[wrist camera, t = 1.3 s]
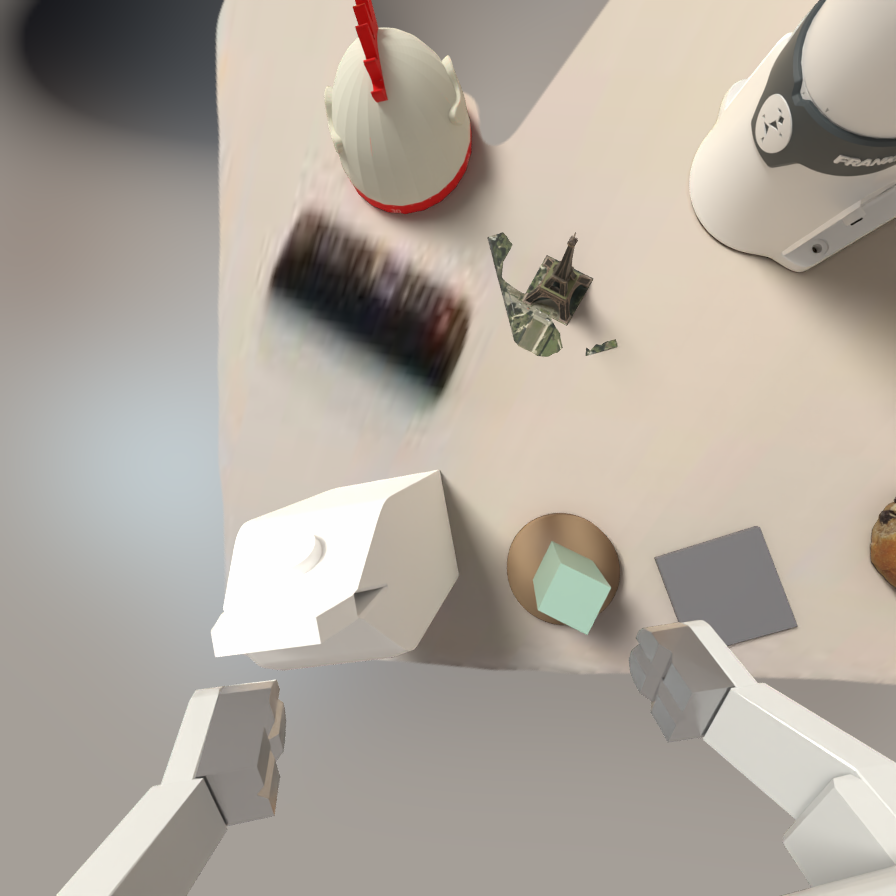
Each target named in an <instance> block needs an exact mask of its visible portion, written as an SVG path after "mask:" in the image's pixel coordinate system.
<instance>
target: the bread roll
mask: <svg viewBox="0 0 896 896" xmlns="http://www.w3.org/2000/svg"><path fill="white" fill-rule="evenodd" d="M894 501H895V502H893V503H890V504H888V505H887V506H886V507H885V509H884V510H883V511H882V512H881V513H880V514H879V519H878V520H877V522H876V523H875V525H874V527H873V529H872V543H871V544H870V545H871V547H870V549H871V561H872V563H873V564H874V565H875V567H876V569H877V571H878V572H880V573H881V574H882V575H883V576H884V577H885V579H886V580H887V581H888V582H889V583H890V584H891V585H893V586H894V587H895V588H896V499H895V500H894Z"/></svg>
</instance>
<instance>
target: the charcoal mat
mask: <svg viewBox="0 0 896 896" xmlns="http://www.w3.org/2000/svg"><path fill="white" fill-rule="evenodd" d="M655 561H656V564H657V566H658V569H659V572H660V574H661V577H662V580H663V582H664V585H665V588H666V590H667V593H668V596H669V598H670V601H671V604H672V606H673V609H674V612H675V614H676V617H677V620H678V622H680V623H681V622H688V621H694V620H703V621H705V622H706V623H708V624H709V625H710V626H711V627H712V628H713V630H714V631H715V632H716V633H717V634H718V636H719V637H720V638H721V639H722V640H723V642H724V643H725V644H726V645H727V646H728V645H731V644H735V643H739V642H742V641H746V640H750V639H753V638H757V637H760V636H764V635H768V634H771V633H775V632H778V631H782V630H786V629H789V628H793V627H797V623H796V621H795V618H794V615H793V613H792V610H791V608H790V605H789V602H788V600H787V597H786V595H785V592H784V589H783V587H782V584H781V581H780V579H779V576H778V574H777V571H776V568H775V566H774V563H773V561H772V558H771V555H770V553H769V550H768V547H767V545H766V542H765V540H764V537H763V534H762V532H761V529H760V527H758V526H754V527H751V528H748V529H745V530H742V531H738V532H735V533H732V534H729V535H725V536H722V537H719V538H716V539H713V540H709V541H706V542H703V543H700V544H696V545H693V546H690V547H687V548H684V549H680V550H677V551H674V552H671V553H667V554H664V555H661V556H658V557H655Z"/></svg>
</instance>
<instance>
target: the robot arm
mask: <svg viewBox="0 0 896 896" xmlns="http://www.w3.org/2000/svg"><path fill="white" fill-rule="evenodd" d="M689 188H690V196H691V201H692V205H693V208H694V210H695V213H696V215H697V217H698V219H699V220H700V222H701V223H702V225H703V226H704V227H705V229H706V230H707V231H708V232H709V233H710V234H711V235H712V236H713V237H715V238H716V239H717V240H719V241H720V242H722V243H723V244H725V245H727V246H729V247H731V248H733V249H736V250H738V251H742V252H745V253H750V254H756V255H762V256H766V257H769V258H772V259H773V260H775V261H776V262H778V263H779V264H781V265H783V266H784V267H786V268H788V269H790V270H792V271H795V272H803V271H806V270H808V269H810V268H812V267H813V266H815V265H817V264H818V263H820V262H822V261H823V260H825V259H827V258H828V257H830V256H832V255H833V254H835V253H837V252H838V251H840V250H842V249H843V248H845V247H847V246H848V245H850V244H852V243H853V242H855V241H857V240H858V239H860V238H862V237H863V236H865V235H867V234H869V233H870V232H872V231H874V230H875V229H877V228H879V227H880V226H882V225H884V224H885V223H887V222H889V221H890V220H892V219H894V218H895V217H896V0H819V1H818V3H817V4H816V5H815V6H814V7H813V9H812V10H811V11H810V12H809V13H808V14H807V15H806V16H805V18H803V19H802V21H801V22H800V24H799V25H798V26H797V27H796V29H795V30H794V31H793V33H791V32H790V33H788V34H786V35H785V36H784V37H782V38H781V39H780V40H779V41H778V43H777V44H776V45H775V46H774V48H773V49H772V50H771V51H770V52H769V54H768V55H767V56H766V57H765V59H764V60H763V61H762V62H761V64H760V65H759V66H758V67H757V69H756V70H755V71H754V72H753V74H752V75H751V76H750V78H748V79H744V80H740V81H738V82H736V83H735V84H733V85H732V87H731V88H730V89H729V90H728V92H727V93H726V94H725V96H724V98H723V101H722V104H721V107H720V111H719V115H718V120H717V122H716V123H715V125H714V127H713V128H712V130H711V131H710V132H709V134H708V135H707V136H706V138H705V139H704V140H703V142H702V143H701V145H700V147H699V149H698V151H697V153H696V155H695V158H694V160H693V163H692V167H691V172H690V181H689ZM812 247H814V248H816V250H817V253H814V252H813V251H812ZM636 639H637V641H638V642H639V645H637V646H636V647H635V648H634V649H633V650H632V651H631V654H630V658H629V666H630V673H631V676H632V678H633V681H634V683H635V685H636V687H637V689H638V691H639V692H640V693H641V694H642V695H643V696H645V697H646V698H647V699H649V700H650V701H651V714H652V715H653V717H654V719H655V720H656V722H657V724H658V726H659V727H660V729H661V731H662V733H663V735H664V736H665V738H666V740H667V741H668V742H674V741H681V740H687V739H693V738H700V737H704V738H703V740H704V741H705V742H706V743H708V744H709V745H710V746H711V747H712V748H713V749H715V750H716V751H717V752H718V753H719V754H720V755H721V756H723V757H724V758H725V759H726V760H727V761H728V762H730V763H731V764H732V765H733V766H734V767H735V768H736V769H738V770H739V771H740V772H741V773H742V774H743V775H745V776H746V777H747V778H748V779H749V780H751V782H753V783H754V784H755V785H756V786H757V787H759V788H760V789H761V790H762V791H763V792H764V793H766V794H767V795H768V796H769V797H770V798H771V799H773V801H775V802H776V803H777V804H778V805H779V806H780V807H782V808H783V809H784V810H785V811H786V812H787V813H788V814H790V815H791V816H792V817H793V818H794V819H796V821H795V822H794V823H793V824H792V825H791V827H790V828H789V829H788V830H787V831H786V832H785V833H784V835H783V844H784V845H785V847H786V849H787V850H788V852H789V853H790V855H791V857H792V858H793V860H794V861H795V863H796V864H797V866H798V867H799V869H800V870H801V872H802V873H803V875H804V877H805V878H806V880H807V881H808V883H809V884H810V886H811V888H808V889H804V890H801V891H797V892H793V893H789V894H785V895H781V896H896V763H895V762H893V761H892V760H890V759H888V758H887V757H885V756H884V755H882V754H880V753H878V752H877V751H875V750H873V749H872V748H870V747H869V746H867V745H865V744H864V743H862V742H860V741H859V740H857V739H856V738H854V737H852V736H851V735H849V734H847V733H846V732H844V731H842V730H841V729H839V728H837V727H836V726H834V725H833V724H831V723H829V722H828V721H826V720H824V719H823V718H821V717H819V716H817V715H816V714H815V713H813V712H811V711H810V710H808V709H806V708H805V707H803V706H801V705H800V704H798V703H796V702H795V701H793V700H792V699H790V698H788V697H787V696H785V695H783V694H781V693H780V692H778V691H777V690H775V689H773V688H772V687H770V686H769V685H767V684H765V683H757V682H756V680H755V679H754V678H753V677H752V676H751V674H750V673H749V672H748V671H747V670H746V668H745V667H744V666H743V665H742V663H741V662H740V661H739V660H738V659H737V657H736V656H735V655H734V654H733V653H732V651H731V650H730V649H729V648H728V647H727V645H726V644H725V643H724V642H723V640H722V639H721V638H720V637H719V636H718V634H717V633H716V632H715V631H714V630H713V628H712V627H711V626H710V625H709V624H708V623H706V622H705V621H703V620H694V621H688V622H681V623H680V622H677V623H671V624H665V625H658V626H652V627H646V628H642V629H641V630H639V632H638V634H637V637H636ZM279 691H280V688H279V686H278V682H277V680H270V681H262V682H255V683H247V684H239V685H232V686H222V687H214V688H207V689H200V690H196V691H195V692H194V694H193V696H192V697H191V699H190V701H189V704H188V706H187V709H186V712H185V715H184V718H183V721H182V724H181V727H180V730H179V733H178V736H177V739H176V742H175V745H174V748H173V751H172V754H171V756H170V759H169V762H168V765H167V768H166V771H165V774H164V777H163V780H162V783H161V785H157V786H152V787H151V788H150V789H149V790H148V792H147V793H146V794H145V795H144V796H143V797H142V798H141V799H140V801H139V802H138V803H137V804H136V805H135V806H134V807H133V809H132V810H131V811H130V812H129V813H128V814H127V815H126V817H125V818H124V819H123V820H122V821H121V822H120V823H119V825H118V826H117V827H116V828H115V829H114V830H113V831H112V833H111V834H110V835H109V836H108V837H107V838H106V839H105V840H104V842H103V843H102V844H101V845H100V846H99V847H98V849H97V850H96V851H95V852H94V853H93V854H92V855H91V856H90V857H89V859H88V860H87V861H86V862H85V863H84V864H83V865H82V867H81V868H80V869H79V870H78V871H77V872H76V873H75V875H74V876H73V877H72V878H71V879H70V880H69V881H68V882H67V884H66V885H65V886H64V887H63V888H62V889H61V890H60V892H59V893H58V894H57V895H56V896H187V894H188V892H189V891H190V889H191V888H192V886H193V885H194V883H195V881H196V880H197V878H198V876H199V875H200V873H201V872H202V870H203V868H204V867H205V865H206V863H207V862H208V860H209V859H210V857H211V855H212V854H213V852H214V851H215V849H216V847H217V846H218V844H219V843H220V841H221V839H222V838H223V836H224V834H225V833H226V831H227V827H226V826H230V825H235V824H239V823H244V822H249V821H253V820H258V819H263V818H267V817H272V816H275V809H276V801H277V794H278V788H279V781H280V775H279V771H278V768H277V764H276V761H277V760H278V759H279V757H280V756H281V754H282V753H283V751H284V744H285V734H286V732H285V731H286V715H285V707H284V703H283V702H282V701H280V700H279V699H278V697H279Z"/></svg>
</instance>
